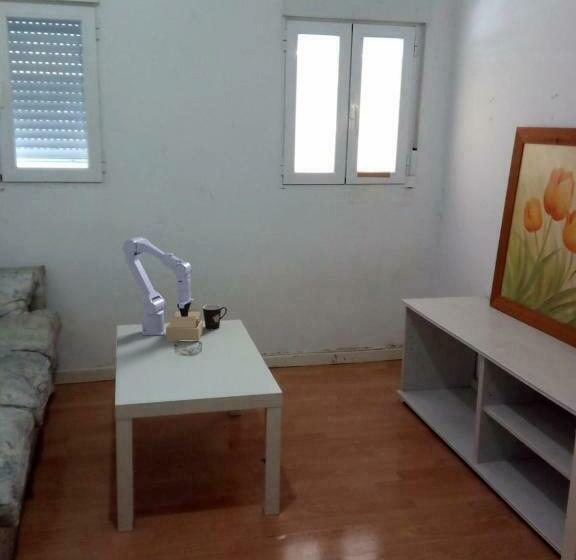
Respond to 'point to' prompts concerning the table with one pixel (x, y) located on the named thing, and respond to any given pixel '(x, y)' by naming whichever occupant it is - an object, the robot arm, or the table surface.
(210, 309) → the coffee mug
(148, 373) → the table surface
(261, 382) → the table surface
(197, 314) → the flap far
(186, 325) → the flap near
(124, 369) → the table surface
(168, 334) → the carton
